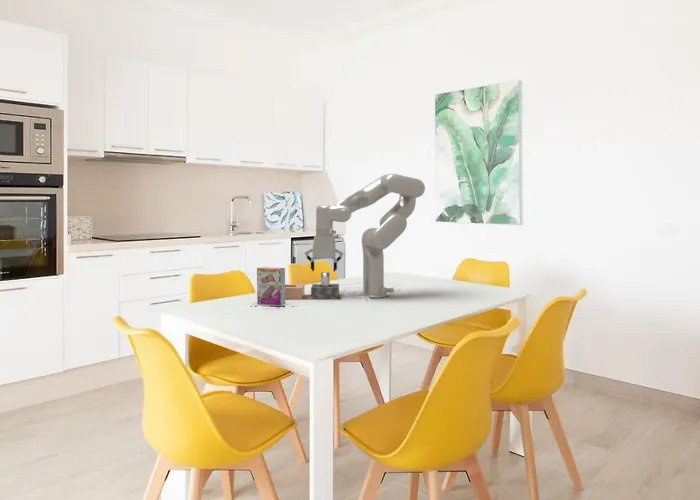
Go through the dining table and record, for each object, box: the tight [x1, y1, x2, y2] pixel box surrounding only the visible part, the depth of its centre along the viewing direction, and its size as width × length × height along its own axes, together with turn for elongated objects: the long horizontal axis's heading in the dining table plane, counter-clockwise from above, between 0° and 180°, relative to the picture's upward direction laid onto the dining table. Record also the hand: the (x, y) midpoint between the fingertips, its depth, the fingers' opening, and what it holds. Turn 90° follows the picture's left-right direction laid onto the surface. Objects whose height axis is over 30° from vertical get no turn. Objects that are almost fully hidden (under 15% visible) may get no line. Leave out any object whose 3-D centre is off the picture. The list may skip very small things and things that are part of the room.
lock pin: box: [320, 271, 331, 287], centre depth 249 cm, size 4×4×11 cm
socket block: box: [285, 283, 305, 299], centre depth 250 cm, size 12×12×5 cm
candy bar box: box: [256, 266, 286, 308], centre depth 233 cm, size 11×5×16 cm, turn 71°
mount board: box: [285, 283, 342, 301], centre depth 250 cm, size 30×14×6 cm, turn 90°
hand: (323, 271), depth 249 cm, fingers open, 9 cm apart
